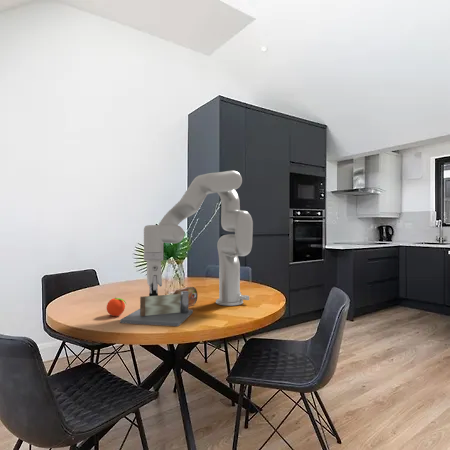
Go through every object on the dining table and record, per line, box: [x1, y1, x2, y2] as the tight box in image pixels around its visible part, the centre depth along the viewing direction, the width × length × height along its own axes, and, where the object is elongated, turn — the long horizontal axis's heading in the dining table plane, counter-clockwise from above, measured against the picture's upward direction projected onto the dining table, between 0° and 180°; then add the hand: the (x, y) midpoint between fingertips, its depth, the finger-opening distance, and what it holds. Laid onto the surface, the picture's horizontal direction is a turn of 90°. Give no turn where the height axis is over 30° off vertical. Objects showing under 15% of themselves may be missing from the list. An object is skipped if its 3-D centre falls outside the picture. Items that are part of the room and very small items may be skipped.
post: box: [181, 291, 189, 314], centre depth 131 cm, size 3×3×10 cm
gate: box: [139, 293, 180, 316], centre depth 127 cm, size 15×2×7 cm, turn 112°
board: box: [119, 308, 194, 327], centre depth 128 cm, size 22×19×1 cm
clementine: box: [106, 297, 127, 317], centre depth 131 cm, size 8×7×7 cm
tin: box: [173, 286, 198, 309], centre depth 146 cm, size 15×3×8 cm, turn 148°
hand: (153, 303), depth 129 cm, fingers closed
